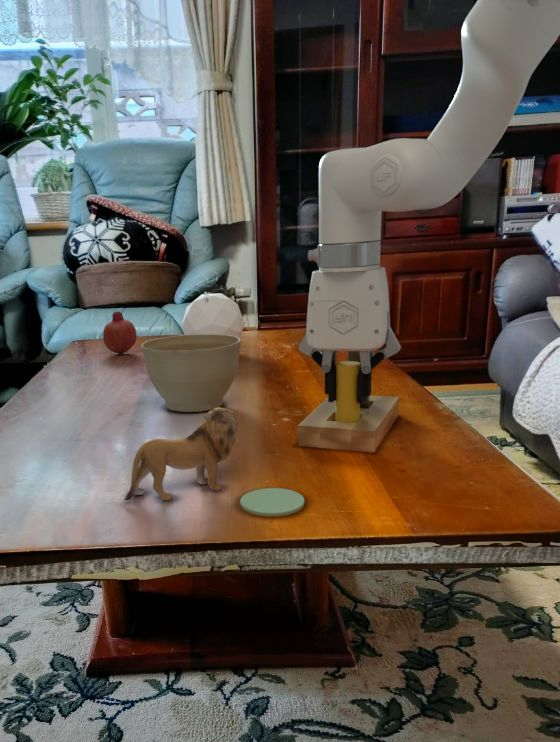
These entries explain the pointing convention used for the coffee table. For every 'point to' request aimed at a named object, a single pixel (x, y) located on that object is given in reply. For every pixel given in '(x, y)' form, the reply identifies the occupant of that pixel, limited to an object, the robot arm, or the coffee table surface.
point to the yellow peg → (347, 391)
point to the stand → (349, 426)
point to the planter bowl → (192, 369)
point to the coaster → (272, 502)
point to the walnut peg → (356, 357)
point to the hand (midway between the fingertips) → (347, 399)
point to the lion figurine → (187, 453)
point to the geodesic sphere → (213, 316)
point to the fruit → (119, 334)
